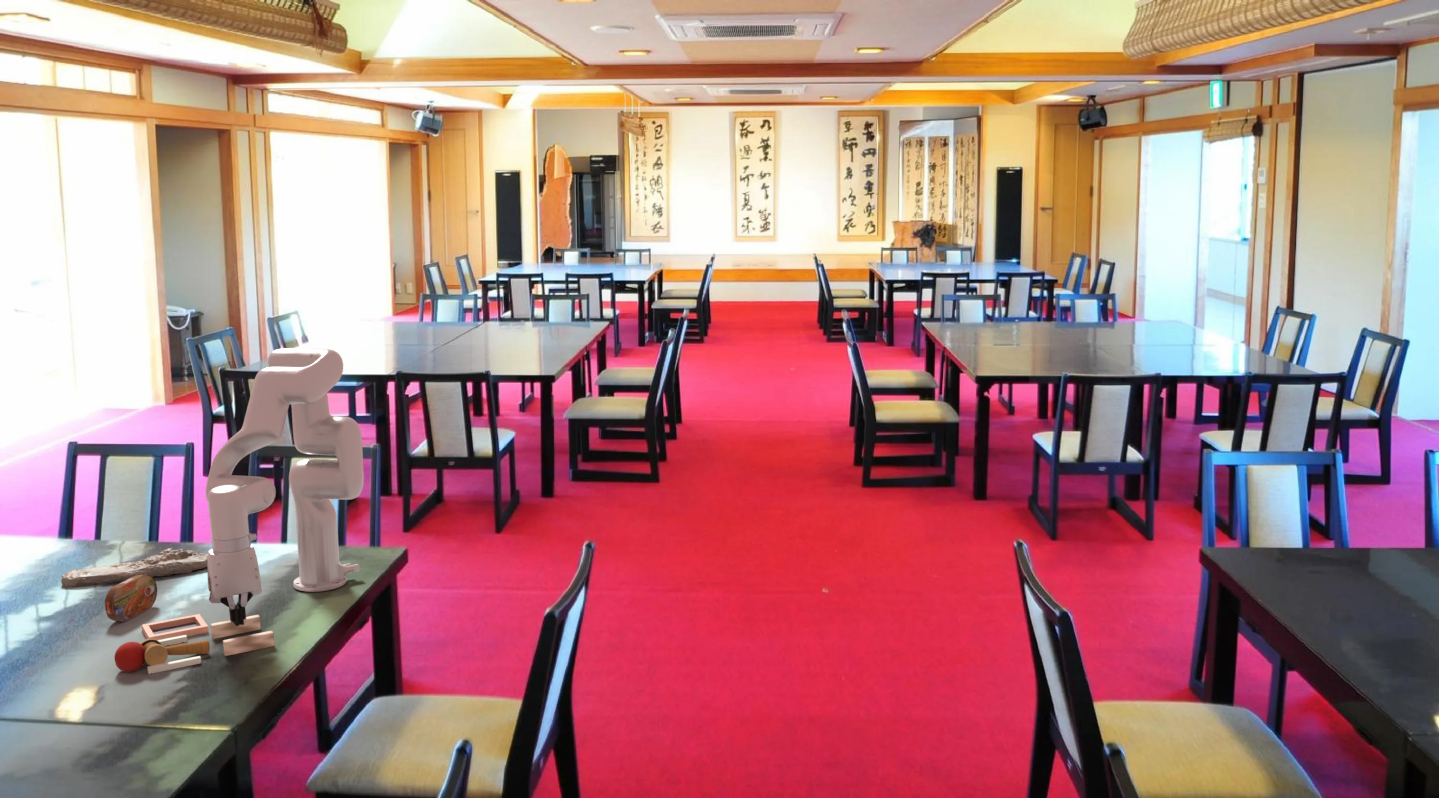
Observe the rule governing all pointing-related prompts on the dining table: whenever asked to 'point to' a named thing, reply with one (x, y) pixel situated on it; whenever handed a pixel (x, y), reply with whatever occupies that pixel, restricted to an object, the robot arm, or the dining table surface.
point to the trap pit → (175, 627)
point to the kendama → (153, 653)
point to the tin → (131, 598)
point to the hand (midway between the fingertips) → (238, 623)
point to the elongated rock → (139, 568)
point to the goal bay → (174, 663)
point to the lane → (242, 642)
